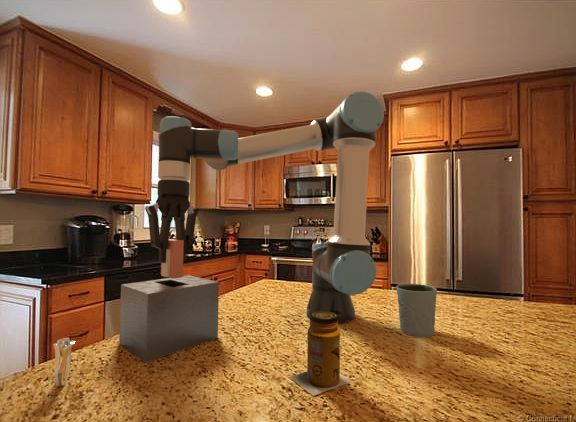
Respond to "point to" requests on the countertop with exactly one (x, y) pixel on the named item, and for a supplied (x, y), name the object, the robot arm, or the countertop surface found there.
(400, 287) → the grey cup
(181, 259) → the block
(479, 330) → the countertop surface
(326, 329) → the condiment
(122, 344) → the coin box
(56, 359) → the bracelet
